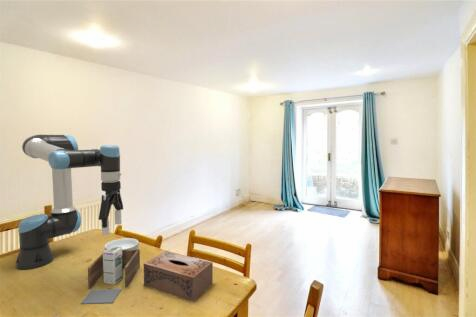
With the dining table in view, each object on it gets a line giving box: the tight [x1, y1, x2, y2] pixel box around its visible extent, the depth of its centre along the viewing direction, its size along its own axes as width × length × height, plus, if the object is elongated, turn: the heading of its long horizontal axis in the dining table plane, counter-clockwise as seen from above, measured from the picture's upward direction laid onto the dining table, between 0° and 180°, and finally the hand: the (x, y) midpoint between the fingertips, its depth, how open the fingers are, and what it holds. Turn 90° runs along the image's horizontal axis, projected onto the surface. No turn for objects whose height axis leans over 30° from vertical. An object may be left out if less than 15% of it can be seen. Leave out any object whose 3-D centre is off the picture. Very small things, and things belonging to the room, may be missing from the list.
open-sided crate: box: [87, 248, 141, 290], centre depth 120 cm, size 16×18×9 cm
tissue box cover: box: [143, 250, 214, 302], centre depth 114 cm, size 26×14×10 cm, turn 64°
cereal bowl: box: [104, 237, 140, 251], centre depth 142 cm, size 17×17×7 cm
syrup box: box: [102, 247, 124, 285], centre depth 117 cm, size 6×6×14 cm
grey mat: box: [79, 288, 122, 305], centre depth 105 cm, size 12×9×1 cm
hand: (112, 229), depth 116 cm, fingers open, 13 cm apart
